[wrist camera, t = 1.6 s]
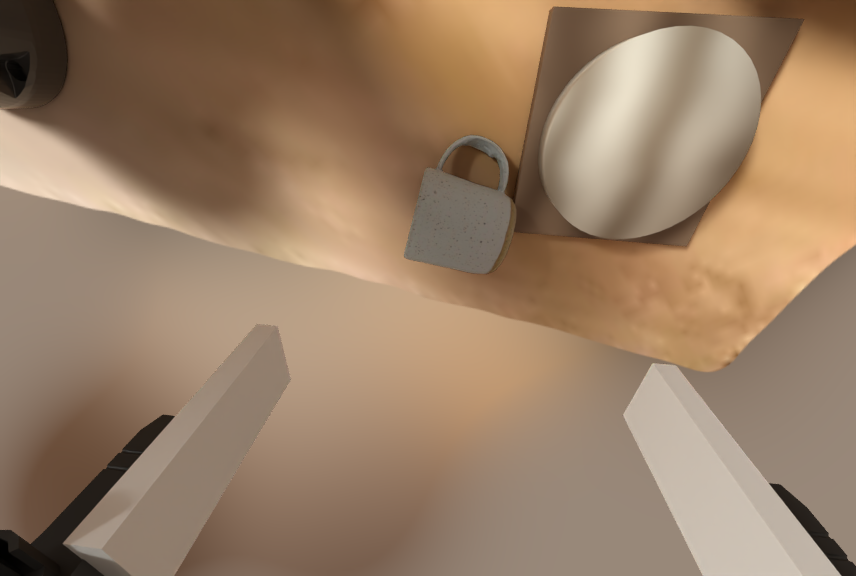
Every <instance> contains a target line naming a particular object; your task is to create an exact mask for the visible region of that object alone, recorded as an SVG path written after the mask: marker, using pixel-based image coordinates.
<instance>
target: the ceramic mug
mask: <svg viewBox="0 0 856 576" xmlns="http://www.w3.org/2000/svg"><path fill="white" fill-rule="evenodd" d="M462 145H465V146H467V145H469V146H472V147H474V148H476V149H479V150H481V151H483V152H485V153H487V154H488V156H489V157H492V158H493V157H495V158H496V160H497V162H498V165H499V168H500V181H499V187H498V190H495V189H492V188H489V187H486V186H482V185H479V184H475V183H473V182H470V181H467V180H465V179H462V178H459V177H456V176H453V175H451V174H448V173H444V172H443V170H442V167H443V165H444V163H445V161H446V159H447V158H448V156H449V155H450V154H451V153H452V152H453V151H454V150H455V149H456V148H458V147H460V146H462ZM508 176H509V168H508V161H507V159H506V156H505V154H504V153H503V151H502V149H501V148H500V147H499V146H498V145H497V144H496V143H494V142H493V141H491V140H489V139H487V138H485V137H482V136H477V135H469V136H464V137H462V138H460V139H458V140H457V141H455V142H454V143H453V144H452V145H450V147H449V148H448V149H447V150H446V151H445V153H444V154H443V156H442V158H441V159H440V161H439V164H438V166H437V168H436V169H433V168H426V169H425V172H424V176H423V180H422V184H421V188H420V192H419V196H418V200H417V204H416V208H415V212H414V216H413V220H412V224H411V228H410V232H409V236H408V241H407V245H406V248H405V252H404V257H405V258H406V259H409V260H414V261H419V262H424V263H428V264H433V265H437V266H442V267H447V268H452V269H456V270H460V271H464V272H469V273H475V274H489V273H492V272H493V271H495V270H496V269H497V268H498V267H499V266H500V264H501V263H502V261H503V260H504V258H505V256H506V254H507V252H508V249H509V246H510V243H511V240H512V237H513V234H514V228H515V223H516V207H515V204H514V202H513V200H512V199H511V198H510V197H508V196H507V195H505V193H504V192H505V189H506V186H507V183H508Z"/></svg>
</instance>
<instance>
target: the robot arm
mask: <svg viewBox="0 0 856 576" xmlns="http://www.w3.org/2000/svg"><path fill="white" fill-rule="evenodd" d="M66 69H67V52H66V44H65V38H64V34H63V29H62V26H61V22H60V19H59V16H58V13H57V11H56V8H55V6H54V3H53V1H52V0H0V109H17V108H34V107H38V106H42V105H44V104H46V103H48V102H49V101H51V100H52V99H53V98H54V97H55V96H56V95H57V94H58V93H59V91H60V89H61V87H62V85H63V83H64V80H65V76H66ZM290 380H291V379H290V374H289V371H288V366H287V363H286V359H285V354H284V350H283V346H282V342H281V338H280V334H279V330H278V326H271V325H260V324H257V325H256V326H255V327H254V328H253V329H252V330H251V331H250V333H249V334H248V335H247V336H246V337H245V338H244V339H243V341H242V342H241V343H240V344H239V345H238V346H237V347H236V348H235V350H234V351H233V352H232V353H231V354H230V355H229V356H228V357H227V359H226V360H225V361H224V362H223V363H222V364H221V365H220V366H219V368H218V369H217V370H216V371H215V372H214V373H213V374H212V375H211V377H210V378H209V379H208V380H207V381H206V382H205V383H204V384H203V386H202V387H201V388H200V389H199V390H198V391H197V392H196V394H195V395H194V396H193V397H192V398H191V399H190V400H189V401H188V403H187V404H186V405H185V406H184V407H183V408H182V409H181V411H180V412H179V413H178V414H177V415H176V416H170V415H162V416H160V417H159V418H157V419H156V420H154V421H153V422H152V423H150V424H149V425H147V426H146V427H144V428H143V429H141V430H140V431H139V432H138V433H137V434H136V436H134V438H133V439H132V440H131V441H130V442H129V443H128V444H127V445H126V446H125V447H124V448H123V451H122V452H121V453H118V454H117V455H116V456H115V458H114V459H113V460H112V461H111V462H110V463H109V464H108V465H107V468H106V469H103V470H102V471H101V472H100V473H99V474H98V476H96V477H95V479H94V480H93V481H92V482H91V483H90V484H89V485H88V486H87V487H86V488H85V489H84V490H83V491H82V492H81V493H80V494H79V495H78V496H77V498H75V499H74V501H73V502H72V503H71V504H70V505H69V506H68V507H67V508H66V509H65V510H64V511H63V512H62V513H61V514H60V515H59V516H58V517H57V519H55V521H54V522H53V523H52V524H51V525H50V526H49V527H48V528H47V529H46V530H45V531H44V532H43V533H42V534H41V535H40V536H39V537H38V538H37V539H36V540H35V541H33V542H32V543H31V544H29V543H28V542H27V541H25V540H24V539H23V538H21V537H20V536H18V535H17V534H15V533H14V532H12V531H11V530H0V576H174V575H175V573H176V572H177V570H178V568H179V566H180V565H181V563H182V562H183V560H184V558H185V557H186V555H187V553H188V551H189V550H190V548H191V546H192V545H193V543H194V541H195V540H196V538H197V536H198V535H199V533H200V531H201V530H202V528H203V526H204V524H205V523H206V521H207V520H208V518H209V516H210V514H211V513H212V511H213V509H214V508H215V506H216V504H217V503H218V501H219V499H220V498H221V496H222V494H223V493H224V491H225V489H226V488H227V486H228V484H229V482H230V481H231V479H232V478H233V476H234V474H235V473H236V471H237V469H238V468H239V466H240V464H241V463H242V461H243V459H244V457H245V456H246V454H247V452H248V451H249V449H250V447H251V446H252V444H253V442H254V441H255V439H256V437H257V436H258V434H259V432H260V431H261V429H262V427H263V425H264V424H265V422H266V421H267V419H268V417H269V416H270V414H271V412H272V410H273V409H274V407H275V405H276V404H277V402H278V400H279V399H280V397H281V395H282V394H283V392H284V390H285V389H286V387H287V385H288V384H289V382H290ZM623 416H624V419H625V420H626V423H627V425H628V427H629V428H630V431H631V433H632V435H633V436H634V439H635V441H636V443H637V445H638V447H639V449H640V451H641V453H642V455H643V457H644V459H645V461H646V463H647V465H648V467H649V469H650V471H651V473H652V475H653V477H654V479H655V481H656V483H657V485H658V487H659V488H660V491H661V493H662V495H663V497H664V499H665V501H666V503H667V505H668V507H669V509H670V510H671V513H672V515H673V517H674V519H675V521H676V523H677V525H678V526H679V529H680V531H681V533H682V534H683V537H684V539H685V541H686V543H687V545H688V547H689V549H690V551H691V553H692V555H693V557H694V559H695V560H696V563H697V564H698V567H699V569H700V571H701V573H702V575H703V576H856V566H855V565H854V564H853V562H850V561H848V559H847V555H846V554H845V553H844V551H843V550H842V549H841V548H840V547H839V545H838V544H837V543H836V542H835V541H834V540H833V539H831V538H830V537H829V536H828V532H827V531H826V530H825V529H824V527H823V526H822V525H821V524H820V523H819V521H818V520H817V519H816V518H815V517H814V515H813V514H812V513H811V512H810V511H809V509H808V508H807V507H805V505H803V504H802V503H801V502H800V501H799V500H798V499H796V498H795V497H794V496H793V495H792V494H791V493H790V492H788V491H787V490H786V489H785V488H784V487H783V486H781V485H779V484H770V483H768V482H767V481H766V479H765V478H764V477H763V475H762V474H761V473H760V472H759V470H758V469H757V468H756V467H755V465H754V464H753V463H752V462H751V460H750V459H749V458H748V456H747V455H746V454H745V453H744V451H743V450H742V449H741V448H740V446H739V445H738V444H737V442H736V441H735V440H734V439H733V437H732V436H731V435H730V433H729V432H728V431H727V430H726V428H725V427H724V426H723V425H722V423H721V422H720V421H719V420H718V418H717V417H716V416H715V414H714V413H713V412H712V411H711V409H710V408H709V407H708V406H707V404H706V403H705V402H704V400H703V399H702V398H701V397H700V395H699V394H698V393H697V392H696V390H695V389H694V388H693V386H692V385H691V384H690V383H689V381H688V380H687V379H686V378H685V377H684V375H683V374H682V372H681V371H680V370H679V369H678V367H677V366H676V365H667V364H657V363H652V365H651V367H650V369H649V370H648V372H647V374H646V375H645V377H644V379H643V381H642V382H641V384H640V386H639V388H638V390H637V391H636V393H635V395H634V396H633V398H632V400H631V402H630V403H629V405H628V407H627V409H626V411H625V412H624V414H623Z"/></svg>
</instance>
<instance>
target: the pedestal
mask: <svg viewBox="0 0 856 576" xmlns="http://www.w3.org/2000/svg"><path fill="white" fill-rule="evenodd" d="M803 21H804V19H792V18H772V17H752V16H732V15H712V14H692V13H672V12H652V11H632V10H612V9H592V8H572V7H553V8H552V9H551V10H550V11H549V16H548V22H547V27H546V32H545V37H544V42H543V47H542V53H541V58H540V63H539V68H538V73H537V78H536V84H535V89H534V94H533V99H532V104H531V109H530V115H529V120H528V125H527V130H526V135H525V140H524V145H523V151H522V156H521V161H520V166H519V171H518V176H517V182H516V187H515V192H514V197H513V202H514V204H515V207H516V223H515V228H514V232H520V233H532V234H544V235H556V236H568V237H580V238H592V239H605V240H617V241H629V242H641V243H653V244H665V245H677V246H687V245H688V243H689V241H690V239H691V237H692V235H693V233H694V231H695V229H696V227H697V225H698V223H699V222H700V220H701V218H702V216H703V214H704V212H705V210H706V208H707V206H708V204H709V202H710V200H711V199H712V198H713V197H715V196H716V195H717V194H718V193H719V192H720V190H721V189H722V188H723V187H724V186H725V185H726V184H727V183H728V182H729V180H730V179H731V178H732V176H733V175H734V173H735V172H736V171H737V169H738V168H739V166H740V165H741V163H742V161H743V160H744V158H745V156H746V154H747V152H748V150H749V148H750V146H751V144H752V141H753V138H754V135H755V132H756V129H757V126H758V121H759V116H760V108H761V102H762V100H763V98H764V96H765V94H766V92H767V91H768V89H769V87H770V85H771V83H772V81H773V79H774V77H775V75H776V73H777V71H778V69H779V67H780V66H781V64H782V62H783V60H784V58H785V56H786V54H787V52H788V50H789V48H790V46H791V44H792V42H793V40H794V39H795V37H796V35H797V33H798V31H799V29H800V27H801V25H802V23H803Z"/></svg>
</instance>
